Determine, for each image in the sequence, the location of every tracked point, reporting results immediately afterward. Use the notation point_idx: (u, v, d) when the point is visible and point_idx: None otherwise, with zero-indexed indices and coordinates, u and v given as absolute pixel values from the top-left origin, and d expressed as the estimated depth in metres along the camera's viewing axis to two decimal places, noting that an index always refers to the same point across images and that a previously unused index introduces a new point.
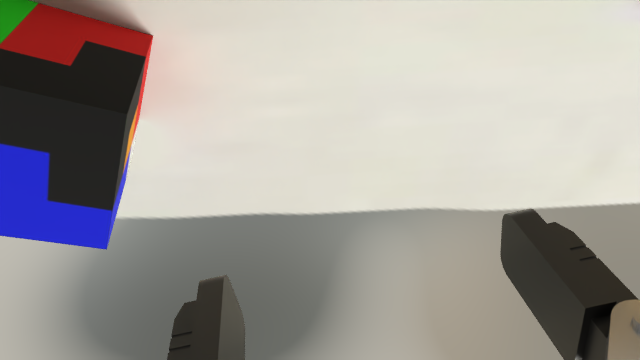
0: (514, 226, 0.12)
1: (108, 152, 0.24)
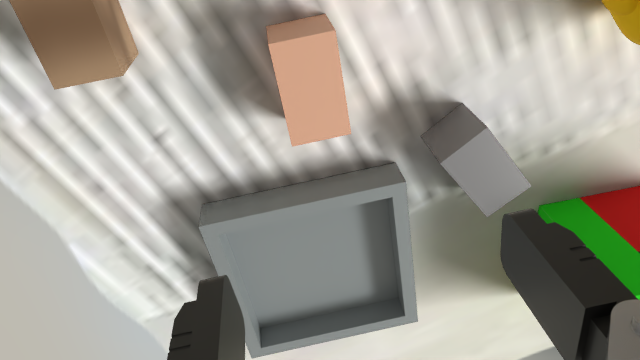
0: (514, 226, 0.12)
1: None
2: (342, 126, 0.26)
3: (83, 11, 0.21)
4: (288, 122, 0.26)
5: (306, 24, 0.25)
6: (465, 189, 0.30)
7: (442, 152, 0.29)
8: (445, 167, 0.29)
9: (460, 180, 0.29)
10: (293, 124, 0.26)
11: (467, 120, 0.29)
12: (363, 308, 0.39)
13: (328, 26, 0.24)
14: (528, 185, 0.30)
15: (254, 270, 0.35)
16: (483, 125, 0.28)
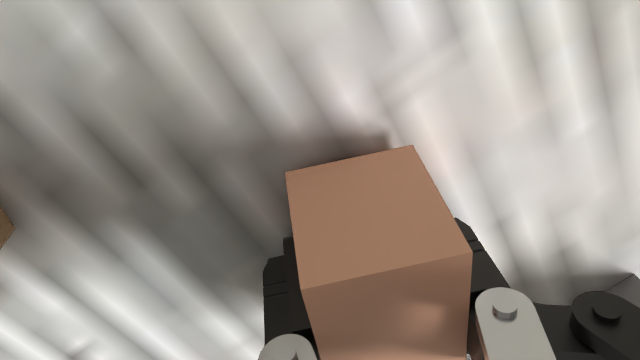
0: None
1: None
2: None
3: None
4: None
5: (381, 193, 0.11)
6: None
7: None
8: None
9: None
10: None
11: None
12: None
13: (444, 221, 0.10)
14: None
15: None
16: None
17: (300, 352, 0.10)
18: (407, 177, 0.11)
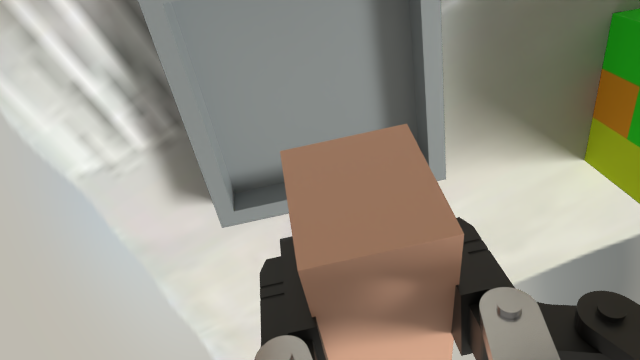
0: None
1: None
2: (436, 359, 0.13)
3: None
4: None
5: (376, 173, 0.11)
6: None
7: None
8: None
9: None
10: None
11: None
12: None
13: (437, 203, 0.10)
14: None
15: (223, 94, 0.26)
16: None
17: (296, 354, 0.10)
18: (401, 157, 0.11)
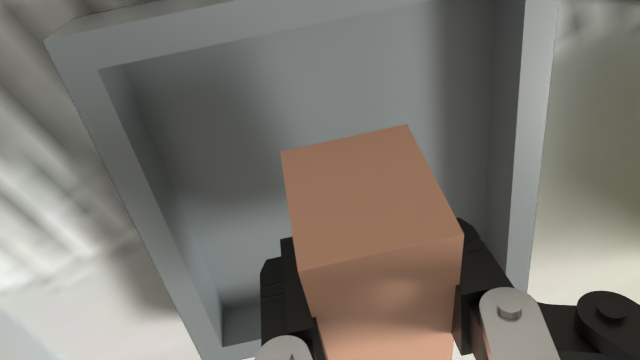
0: None
1: None
2: (437, 359, 0.13)
3: None
4: None
5: (376, 174, 0.11)
6: None
7: None
8: None
9: None
10: None
11: None
12: None
13: (437, 203, 0.10)
14: None
15: (205, 187, 0.17)
16: None
17: (296, 354, 0.10)
18: (401, 158, 0.11)
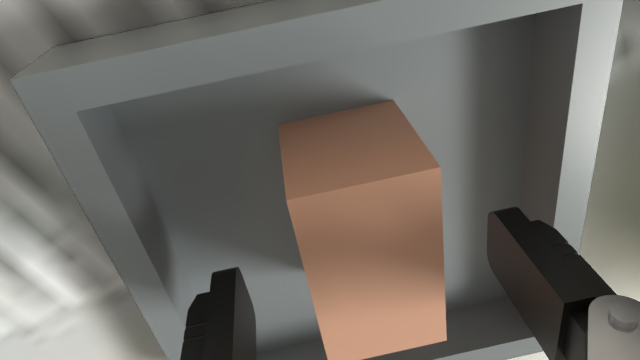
0: (498, 224, 0.12)
1: None
2: (431, 330, 0.13)
3: None
4: (324, 331, 0.12)
5: (363, 133, 0.12)
6: None
7: None
8: None
9: None
10: (333, 333, 0.13)
11: None
12: None
13: (417, 148, 0.11)
14: None
15: (204, 232, 0.15)
16: None
17: None
18: (387, 121, 0.12)
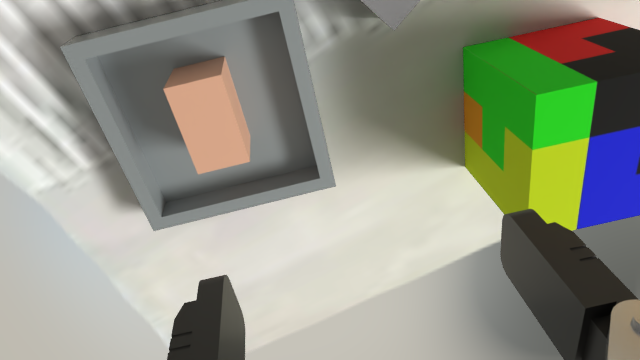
0: (514, 227, 0.12)
1: None
2: (240, 155, 0.30)
3: None
4: (191, 153, 0.29)
5: (203, 68, 0.29)
6: None
7: None
8: None
9: None
10: (195, 155, 0.29)
11: None
12: (277, 176, 0.35)
13: (218, 70, 0.28)
14: None
15: (146, 123, 0.32)
16: None
17: None
18: (215, 63, 0.29)
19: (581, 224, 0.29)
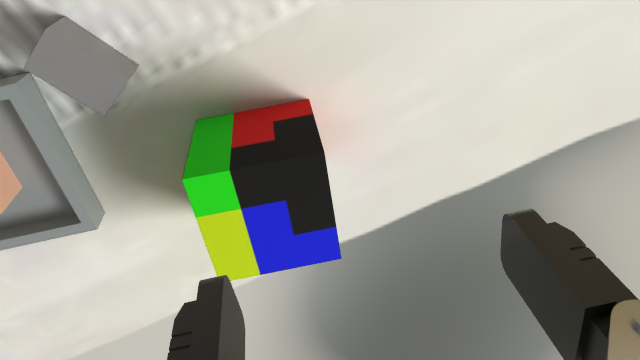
0: (514, 226, 0.12)
1: (321, 184, 0.33)
2: None
3: None
4: None
5: None
6: (64, 90, 0.33)
7: None
8: (31, 71, 0.32)
9: (54, 82, 0.33)
10: None
11: None
12: (53, 219, 0.42)
13: None
14: (124, 81, 0.34)
15: None
16: (47, 28, 0.31)
17: None
18: None
19: (263, 271, 0.37)
